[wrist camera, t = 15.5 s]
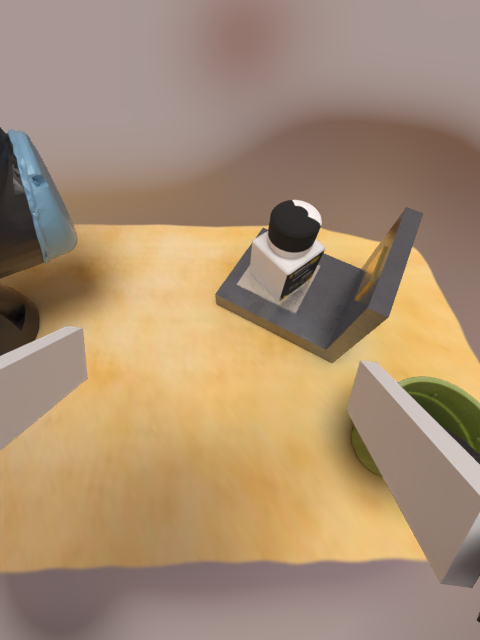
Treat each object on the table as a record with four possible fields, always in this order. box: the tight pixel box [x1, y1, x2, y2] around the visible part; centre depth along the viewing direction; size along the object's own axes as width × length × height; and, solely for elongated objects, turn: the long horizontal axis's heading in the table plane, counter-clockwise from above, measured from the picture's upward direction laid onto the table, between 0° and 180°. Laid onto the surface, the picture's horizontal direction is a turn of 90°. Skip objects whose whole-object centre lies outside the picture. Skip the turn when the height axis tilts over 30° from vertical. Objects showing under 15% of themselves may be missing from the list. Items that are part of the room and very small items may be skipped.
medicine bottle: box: [250, 200, 325, 301], centre depth 34 cm, size 7×7×12 cm
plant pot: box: [351, 376, 480, 478], centre depth 27 cm, size 12×12×11 cm
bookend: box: [215, 207, 423, 363], centre depth 35 cm, size 20×16×15 cm
